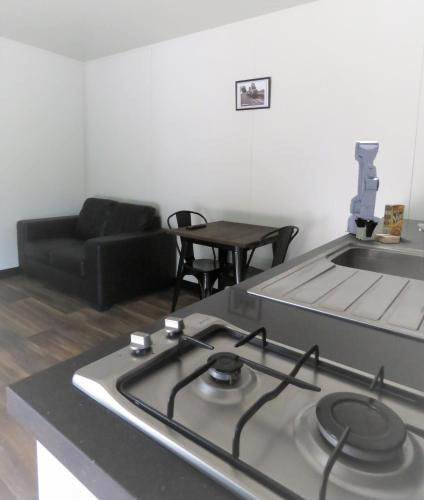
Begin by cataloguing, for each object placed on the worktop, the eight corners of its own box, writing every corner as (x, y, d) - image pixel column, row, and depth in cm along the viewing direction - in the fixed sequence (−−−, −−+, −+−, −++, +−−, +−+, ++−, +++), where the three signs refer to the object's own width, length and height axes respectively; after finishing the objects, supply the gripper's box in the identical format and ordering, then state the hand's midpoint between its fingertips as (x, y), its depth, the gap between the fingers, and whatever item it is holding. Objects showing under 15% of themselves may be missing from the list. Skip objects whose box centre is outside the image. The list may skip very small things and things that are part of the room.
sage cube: (356, 238, 171) (357, 227, 170) (365, 238, 173) (366, 227, 172) (363, 240, 167) (364, 229, 166) (372, 240, 168) (374, 228, 167)
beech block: (374, 241, 168) (375, 234, 167) (387, 240, 170) (388, 234, 169) (385, 244, 161) (385, 237, 161) (398, 243, 163) (399, 236, 162)
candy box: (388, 238, 173) (393, 205, 170) (381, 236, 177) (385, 204, 174) (401, 237, 177) (405, 204, 174) (393, 235, 181) (397, 203, 178)
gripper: (350, 204, 172) (347, 233, 175) (371, 207, 159) (367, 239, 162) (363, 204, 174) (360, 233, 177) (385, 207, 161) (381, 238, 163)
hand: (364, 236), depth 169 cm, fingers closed on sage cube, 5 cm apart
